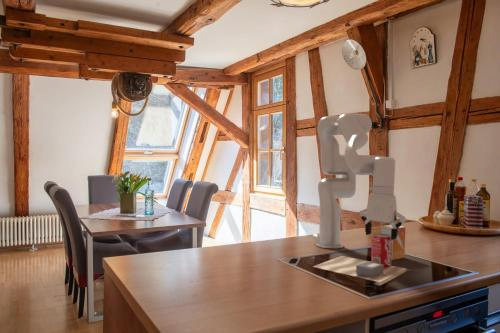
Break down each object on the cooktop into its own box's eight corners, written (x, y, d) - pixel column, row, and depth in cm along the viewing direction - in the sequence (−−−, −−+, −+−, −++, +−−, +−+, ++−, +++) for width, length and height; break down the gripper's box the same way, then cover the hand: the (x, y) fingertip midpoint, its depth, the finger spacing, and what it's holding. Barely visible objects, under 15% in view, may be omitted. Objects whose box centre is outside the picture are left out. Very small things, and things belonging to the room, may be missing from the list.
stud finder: (356, 274, 142) (356, 264, 141) (367, 269, 147) (368, 260, 147) (372, 277, 137) (372, 268, 137) (383, 273, 143) (383, 264, 143)
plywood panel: (312, 269, 150) (312, 266, 150) (342, 258, 167) (342, 255, 167) (379, 285, 133) (380, 282, 133) (405, 271, 149) (405, 268, 149)
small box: (392, 260, 165) (393, 228, 165) (379, 257, 170) (380, 226, 170) (405, 257, 170) (405, 226, 169) (392, 254, 175) (393, 224, 174)
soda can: (391, 265, 153) (392, 233, 152) (391, 270, 146) (392, 237, 146) (371, 263, 155) (372, 232, 154) (370, 268, 148) (371, 235, 148)
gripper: (356, 189, 152) (354, 234, 154) (402, 194, 141) (399, 243, 142) (365, 187, 158) (363, 231, 159) (410, 192, 147) (408, 239, 148)
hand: (380, 236), depth 151 cm, fingers open, 9 cm apart
